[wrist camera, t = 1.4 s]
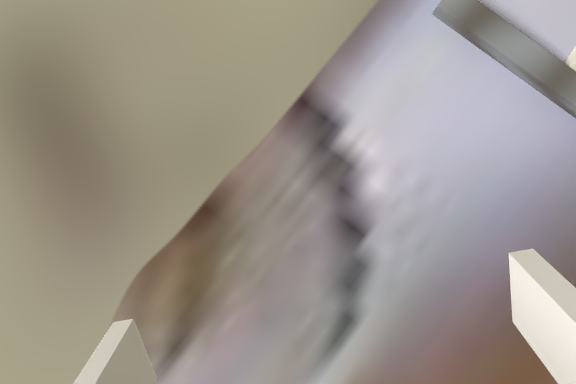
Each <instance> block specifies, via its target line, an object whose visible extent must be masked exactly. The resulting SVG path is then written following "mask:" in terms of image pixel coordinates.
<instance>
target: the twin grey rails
mask: <svg viewBox="0 0 576 384" xmlns="http://www.w3.org/2000/svg"><path fill="white" fill-rule="evenodd" d="M433 15H434V16H436V17H437V18H438V19H440V20H441V21H443V22H444V23H445V24H447V25H448V26H449V27H451V28H452V29H454V30H455V31H456V32H458V33H459V34H460V35H462V36H463V37H465V38H466V39H467V40H469V41H470V42H471V43H473V44H474V45H476V46H477V47H478V48H480V49H481V50H482V51H484V52H485V53H487V54H488V55H489V56H491V57H492V58H494V59H495V60H496V61H498V62H499V63H500V64H502V65H503V66H505V67H506V68H507V69H509V70H510V71H511V72H513V73H514V74H516V75H517V76H518V77H520V78H521V79H522V80H524V81H525V82H527V83H528V84H529V85H531V86H532V87H533V88H535V89H536V90H538V91H539V92H540V93H542V94H543V95H545V96H546V97H547V98H549V99H550V100H551V101H553V102H554V103H556V104H557V105H558V106H560V107H561V108H562V109H564V110H565V111H567V112H568V113H569V114H571V115H572V116H573V117H575V118H576V71H575V70H573V69H572V68H570V67H569V66H568V65H566V64H565V63H564V62H562V61H561V60H559V59H558V58H557V57H555V56H554V55H552V54H551V53H550V52H548V51H547V50H545V49H544V48H543V47H541V46H540V45H538V44H537V43H536V42H534V41H533V40H532V39H530V38H529V37H527V36H526V35H525V34H523V33H522V32H520V31H519V30H518V29H516V28H515V27H513V26H512V25H511V24H509V23H508V22H506V21H505V20H504V19H502V18H501V17H500V16H498V15H497V14H495V13H494V12H493V11H491V10H490V9H488V8H487V7H486V6H484V5H483V4H481V3H480V2H479V1H477V0H442V1H441V2H440V3H439V5H438V6H437V8H436V9H435V11H434V12H433Z"/></svg>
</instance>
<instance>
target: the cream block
mask: <svg viewBox="0 0 576 384" xmlns="http://www.w3.org/2000/svg"><path fill="white" fill-rule="evenodd" d="M565 64H566V65H568V66H569V67H570V68H572V69H573V70H575V71H576V46H575V48H574V50H573V51H572V53H571V54H570V56H569V57H568V59H567V60H566V62H565Z"/></svg>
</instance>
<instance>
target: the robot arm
mask: <svg viewBox="0 0 576 384" xmlns="http://www.w3.org/2000/svg"><path fill="white" fill-rule="evenodd" d="M509 266H510V284H511V302H512V319H513V323H514V324H515V326H516V327H517V328H518V330H519V331H520V332H521V334H522V335H523V337H524V338H525V339H526V341H527V342H528V343H529V345H530V346H531V347H532V349H533V350H534V351H535V353H536V354H537V356H538V357H539V358H540V360H541V361H542V362H543V364H544V365H545V366H546V368H547V369H548V370H549V372H550V373H551V375H552V376H553V377H554V379H555V380H556V381H557V383H558V384H576V288H575V287H574V286H573V285H572V284H571V283H569V282H568V281H567V280H566V279H565V278H564V277H563V276H562V275H561V274H560V273H559V272H558V271H556V270H555V269H554V268H553V267H552V266H551V265H550V264H549V263H548V262H547V261H546V260H545V259H543V258H542V257H541V256H540V255H539V254H538V253H537V252H536V251H535V250H534V249H528V250H523V251H517V252H511V253H509ZM157 379H158V378H157V376H156V373H155V371H154V368H153V366H152V364H151V361H150V359H149V356H148V354H147V351H146V349H145V346H144V344H143V341H142V339H141V336H140V334H139V331H138V329H137V327H136V324H135V322H134V319H129V320H124V321H118V322H113V324H112V325H111V327H110V328H109V330H108V331H107V333H106V334H105V336H104V337H103V339H102V341H101V342H100V344H99V345H98V347H97V348H96V350H95V351H94V353H93V354H92V356H91V357H90V359H89V360H88V362H87V363H86V365H85V367H84V368H83V370H82V371H81V373H80V374H79V376H78V377H77V379H76V380H75V382H74V383H73V384H156V381H157Z"/></svg>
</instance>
